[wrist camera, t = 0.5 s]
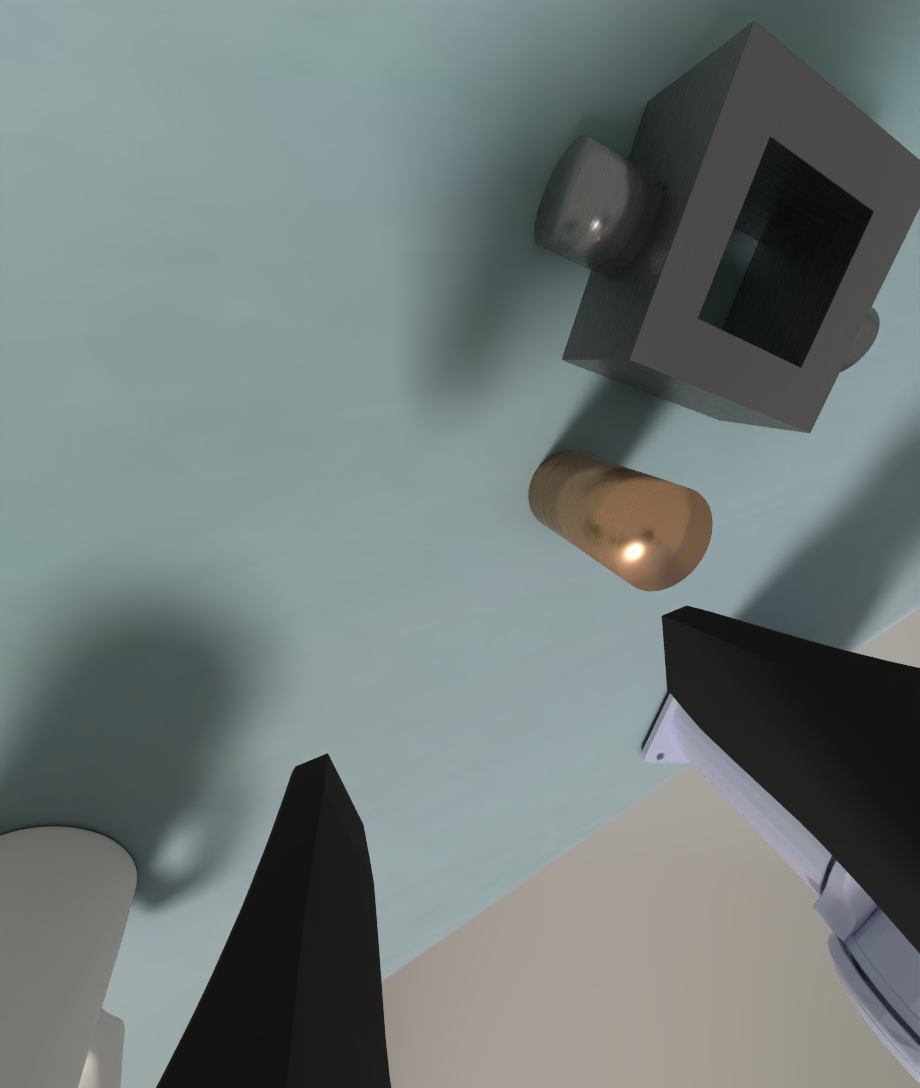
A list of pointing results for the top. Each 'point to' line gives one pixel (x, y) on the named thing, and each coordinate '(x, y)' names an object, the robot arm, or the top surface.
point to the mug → (61, 956)
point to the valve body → (707, 223)
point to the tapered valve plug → (623, 518)
